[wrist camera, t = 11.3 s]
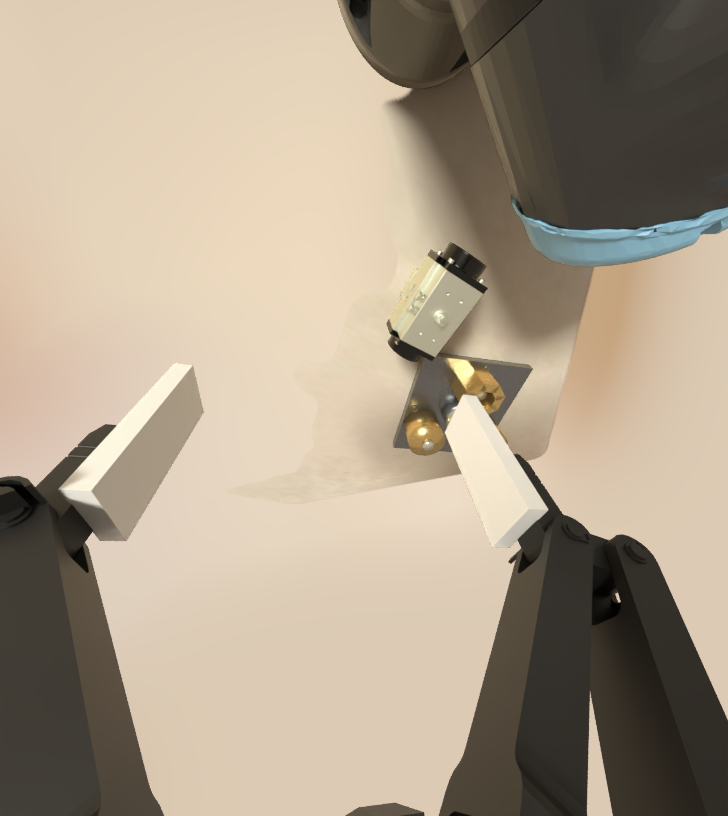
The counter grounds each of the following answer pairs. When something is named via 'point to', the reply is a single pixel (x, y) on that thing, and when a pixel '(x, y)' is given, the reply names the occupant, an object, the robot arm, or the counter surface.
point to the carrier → (449, 400)
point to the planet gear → (478, 387)
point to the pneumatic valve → (435, 303)
